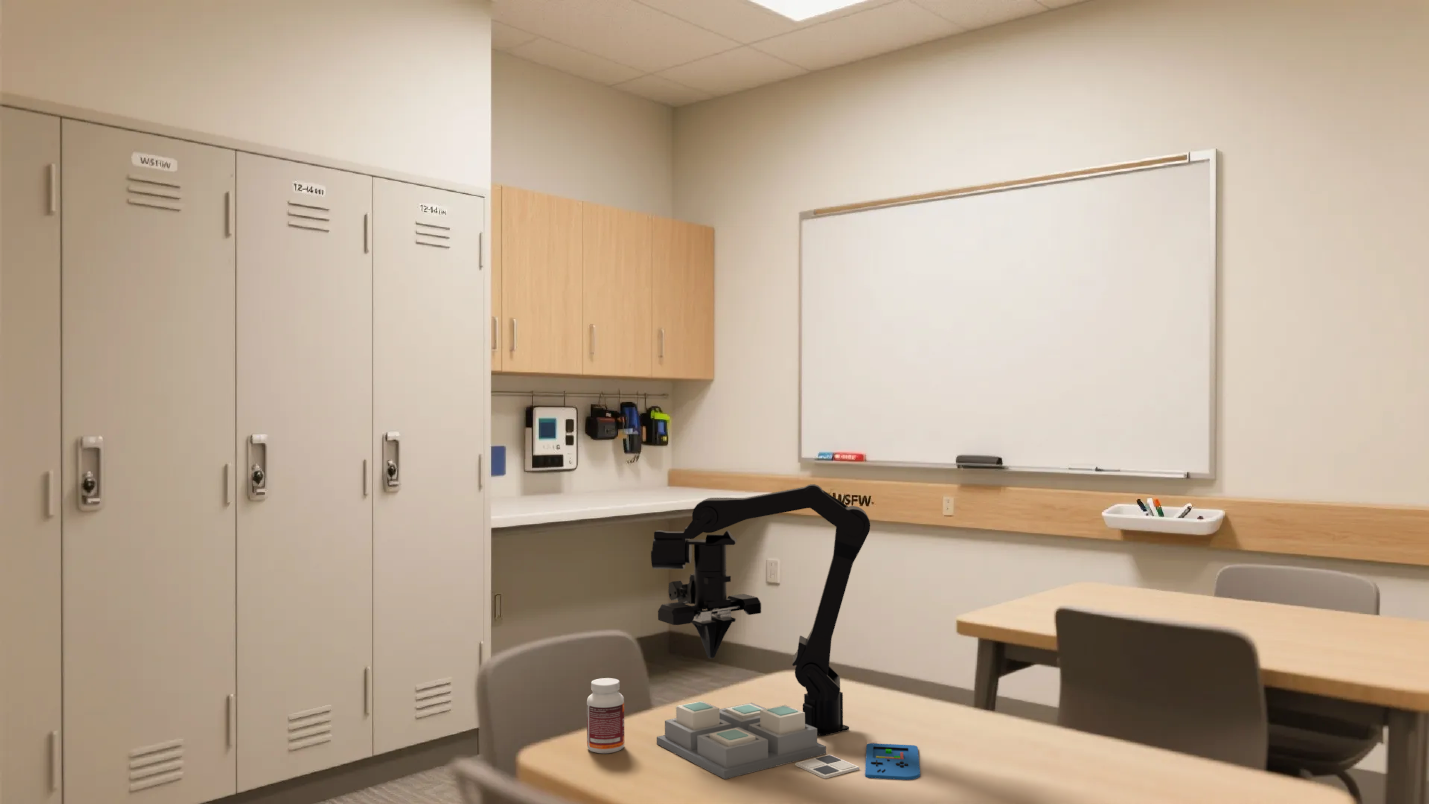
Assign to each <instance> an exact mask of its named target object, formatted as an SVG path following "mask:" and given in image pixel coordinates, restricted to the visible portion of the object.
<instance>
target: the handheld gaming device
mask: <svg viewBox="0 0 1429 804" xmlns="http://www.w3.org/2000/svg"><path fill="white" fill-rule="evenodd" d="M919 757H920V756H919V747H918V746H917V745H913V744H895V743H875V742H871V743H870V742H869V743H867V744H866V750H865V767H864V768H865V770H864V777H865V778H866V779H867V778H868V779H879V780H883V779H884V780H899V781H900V780H901V781H911V780H912V781H913V780H916V779H918V778H920V777H921V768H920V767H921V766H920V758H919Z"/></svg>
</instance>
